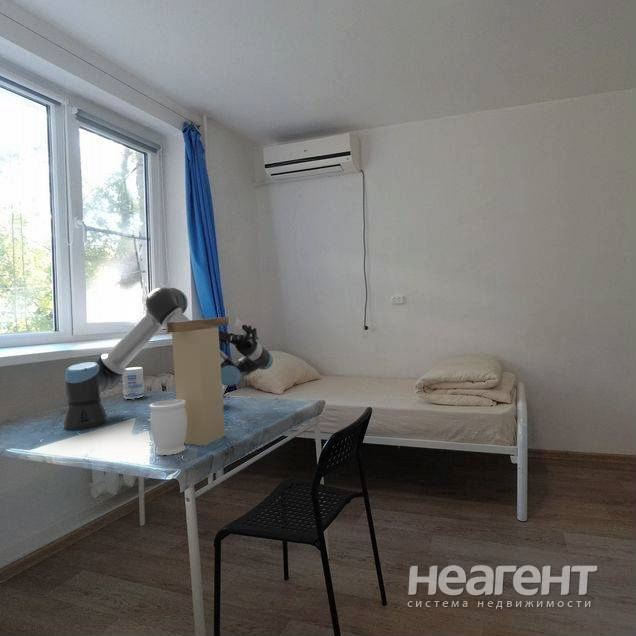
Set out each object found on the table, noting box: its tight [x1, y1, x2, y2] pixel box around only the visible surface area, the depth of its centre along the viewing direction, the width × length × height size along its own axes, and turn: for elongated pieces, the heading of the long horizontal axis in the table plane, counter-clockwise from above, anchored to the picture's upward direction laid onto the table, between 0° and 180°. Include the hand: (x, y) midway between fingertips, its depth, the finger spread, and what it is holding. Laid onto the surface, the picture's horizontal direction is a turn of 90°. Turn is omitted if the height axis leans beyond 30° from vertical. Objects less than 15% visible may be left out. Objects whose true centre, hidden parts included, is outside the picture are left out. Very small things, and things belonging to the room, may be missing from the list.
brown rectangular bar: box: [166, 316, 229, 333], centre depth 156 cm, size 4×27×3 cm, turn 157°
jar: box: [148, 398, 187, 456], centre depth 144 cm, size 11×10×15 cm
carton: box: [171, 327, 226, 446], centre depth 155 cm, size 10×11×36 cm
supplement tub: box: [122, 366, 145, 400], centre depth 234 cm, size 10×10×15 cm
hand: (219, 322), depth 166 cm, fingers open, 13 cm apart
